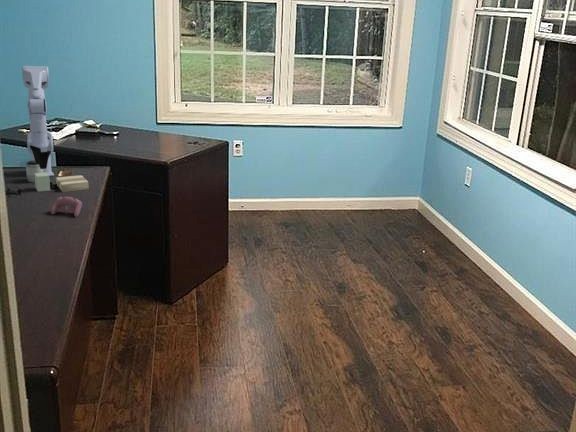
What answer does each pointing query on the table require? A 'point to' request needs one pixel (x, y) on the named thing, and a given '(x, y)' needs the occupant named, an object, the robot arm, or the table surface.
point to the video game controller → (64, 201)
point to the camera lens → (32, 170)
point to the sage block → (42, 181)
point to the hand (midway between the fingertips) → (41, 165)
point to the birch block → (72, 183)
